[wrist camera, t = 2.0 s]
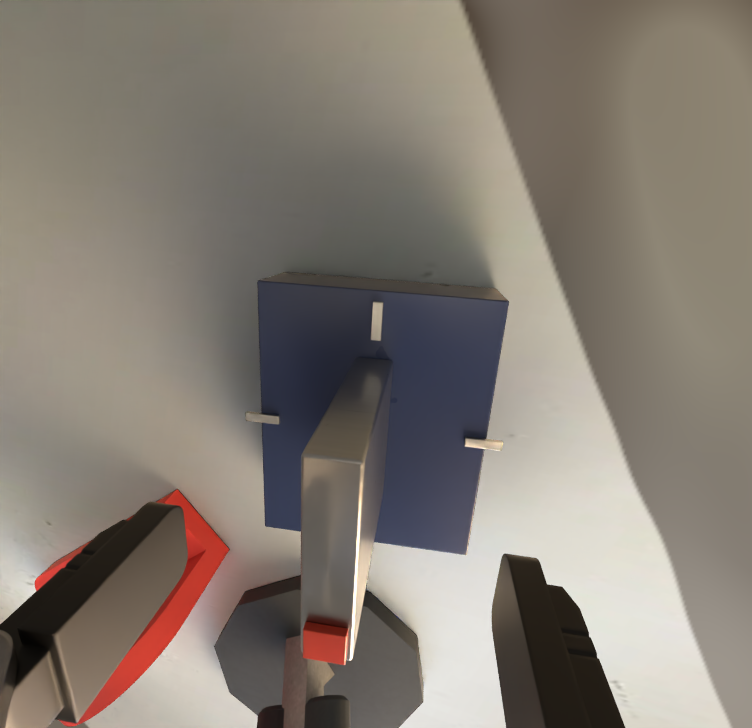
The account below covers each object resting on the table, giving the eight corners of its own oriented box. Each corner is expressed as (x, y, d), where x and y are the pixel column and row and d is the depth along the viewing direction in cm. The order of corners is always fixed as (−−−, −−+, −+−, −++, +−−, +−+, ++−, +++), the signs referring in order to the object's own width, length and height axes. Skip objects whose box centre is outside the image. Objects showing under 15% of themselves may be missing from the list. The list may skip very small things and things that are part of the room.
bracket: (177, 489, 22) (50, 620, 15) (229, 549, 23) (134, 701, 16) (44, 568, 26) (-114, 707, 18) (94, 618, 27) (-37, 771, 19)
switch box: (270, 270, 18) (238, 279, 15) (511, 289, 17) (528, 303, 14) (275, 485, 22) (250, 527, 19) (474, 512, 21) (481, 560, 18)
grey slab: (356, 356, 15) (296, 459, 9) (393, 359, 15) (362, 468, 9) (349, 491, 17) (296, 663, 11) (382, 495, 17) (350, 672, 10)
